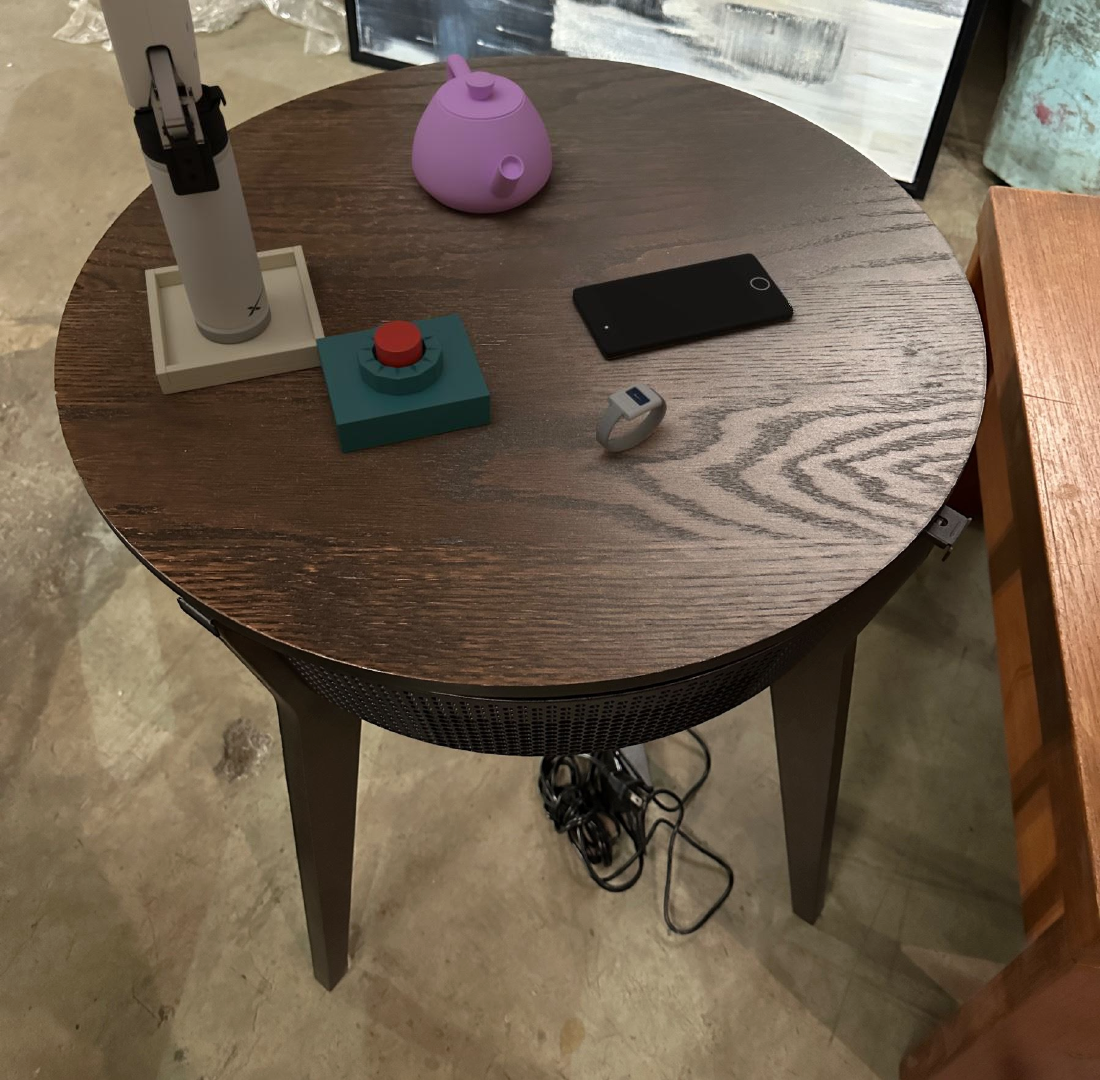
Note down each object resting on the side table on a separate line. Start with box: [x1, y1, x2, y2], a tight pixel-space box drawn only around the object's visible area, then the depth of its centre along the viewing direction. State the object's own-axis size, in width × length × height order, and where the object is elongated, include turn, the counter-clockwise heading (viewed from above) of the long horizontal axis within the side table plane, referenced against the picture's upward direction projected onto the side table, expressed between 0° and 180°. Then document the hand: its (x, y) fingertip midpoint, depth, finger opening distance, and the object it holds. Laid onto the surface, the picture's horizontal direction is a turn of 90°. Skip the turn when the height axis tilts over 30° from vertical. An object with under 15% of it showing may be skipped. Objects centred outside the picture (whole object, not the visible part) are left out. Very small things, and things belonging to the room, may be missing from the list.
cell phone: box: [572, 252, 795, 360], centre depth 91 cm, size 9×18×1 cm, turn 109°
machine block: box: [316, 313, 492, 454], centre depth 82 cm, size 12×10×5 cm
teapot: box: [411, 53, 553, 214], centre depth 98 cm, size 14×20×11 cm
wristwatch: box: [595, 380, 668, 453], centre depth 80 cm, size 6×3×5 cm, turn 126°
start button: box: [374, 320, 423, 368], centre depth 80 cm, size 4×4×2 cm
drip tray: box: [144, 245, 326, 396], centre depth 88 cm, size 14×14×2 cm
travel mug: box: [133, 83, 271, 343], centre depth 80 cm, size 6×7×20 cm
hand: (192, 162), depth 76 cm, fingers closed on travel mug, 6 cm apart
